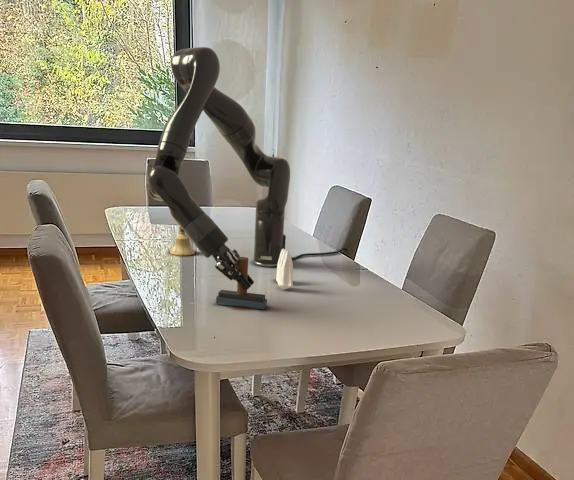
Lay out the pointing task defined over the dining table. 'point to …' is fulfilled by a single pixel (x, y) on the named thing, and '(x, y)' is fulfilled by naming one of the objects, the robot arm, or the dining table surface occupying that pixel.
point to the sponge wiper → (241, 292)
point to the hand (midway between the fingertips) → (249, 286)
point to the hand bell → (182, 245)
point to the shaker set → (285, 270)
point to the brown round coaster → (240, 307)
